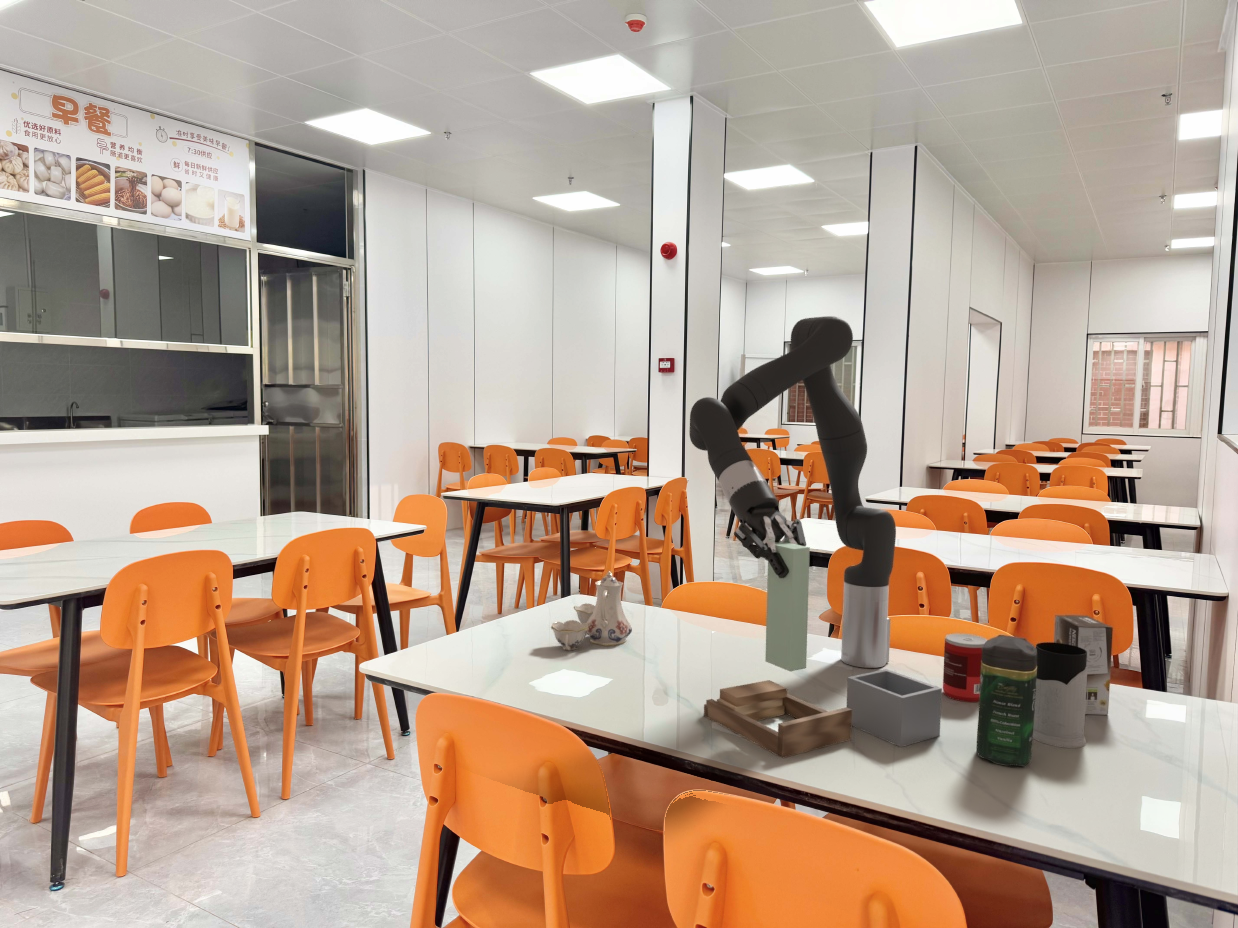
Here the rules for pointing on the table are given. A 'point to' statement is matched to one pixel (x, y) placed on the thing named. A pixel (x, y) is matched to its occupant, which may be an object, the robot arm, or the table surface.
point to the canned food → (962, 666)
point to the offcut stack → (755, 699)
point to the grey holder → (894, 707)
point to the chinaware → (597, 619)
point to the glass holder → (1060, 695)
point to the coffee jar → (1007, 700)
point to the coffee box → (1090, 655)
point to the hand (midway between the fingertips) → (794, 573)
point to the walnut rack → (787, 726)
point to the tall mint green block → (788, 609)
